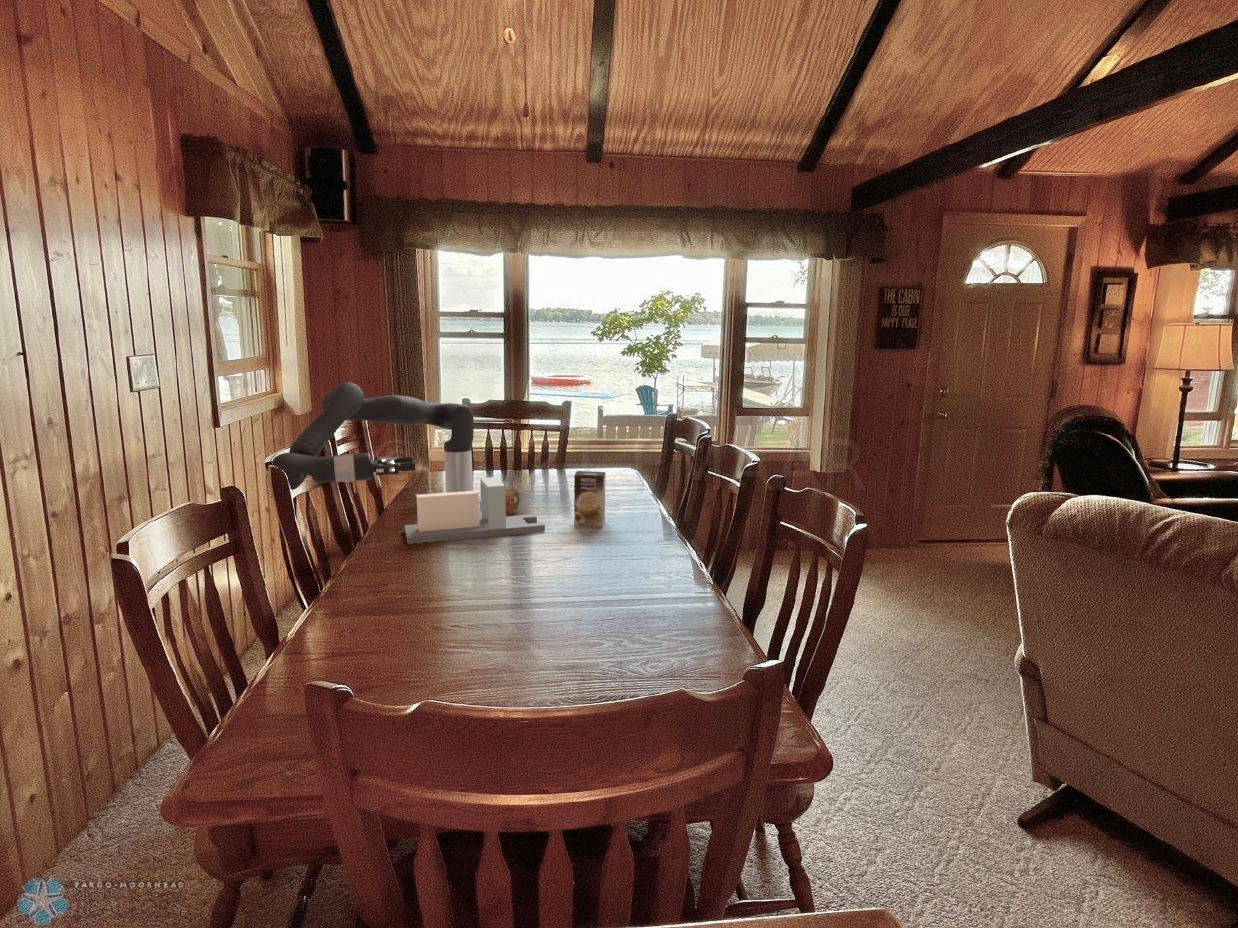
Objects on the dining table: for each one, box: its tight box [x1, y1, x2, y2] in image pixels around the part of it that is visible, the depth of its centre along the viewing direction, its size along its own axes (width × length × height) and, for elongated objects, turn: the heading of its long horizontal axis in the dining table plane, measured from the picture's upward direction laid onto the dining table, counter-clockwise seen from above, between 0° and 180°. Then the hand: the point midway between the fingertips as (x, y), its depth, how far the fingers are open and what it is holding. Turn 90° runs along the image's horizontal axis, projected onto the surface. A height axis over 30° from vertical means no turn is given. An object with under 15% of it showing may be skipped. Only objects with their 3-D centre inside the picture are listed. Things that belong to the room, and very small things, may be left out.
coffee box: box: [573, 470, 606, 528], centre depth 221 cm, size 9×6×16 cm
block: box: [416, 490, 480, 532], centre depth 210 cm, size 3×17×10 cm, turn 110°
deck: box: [403, 513, 546, 545], centre depth 213 cm, size 13×39×2 cm, turn 110°
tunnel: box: [479, 476, 507, 530], centre depth 214 cm, size 13×5×13 cm, turn 20°
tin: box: [479, 487, 520, 516], centre depth 231 cm, size 15×3×8 cm, turn 143°
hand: (413, 463), depth 204 cm, fingers open, 8 cm apart
